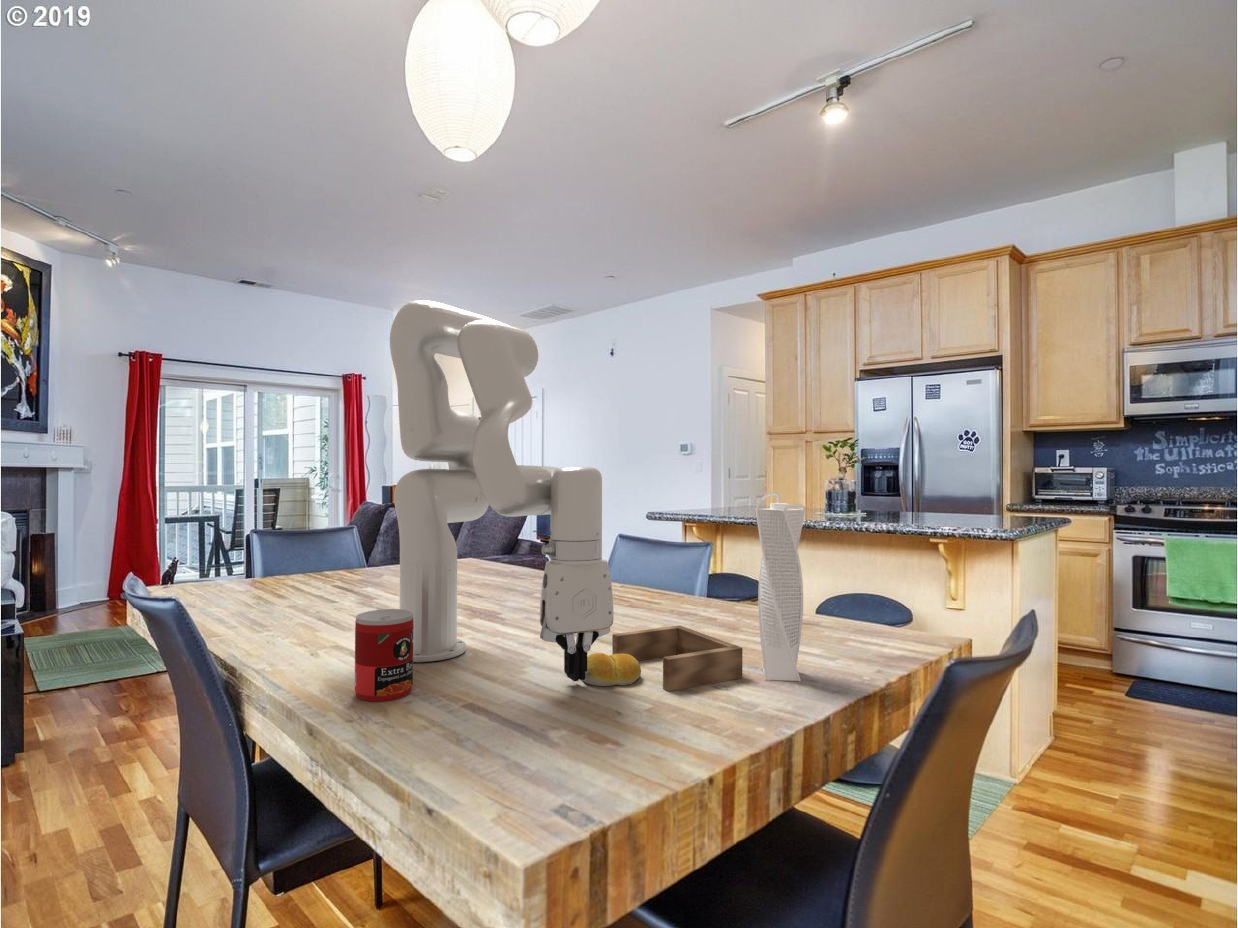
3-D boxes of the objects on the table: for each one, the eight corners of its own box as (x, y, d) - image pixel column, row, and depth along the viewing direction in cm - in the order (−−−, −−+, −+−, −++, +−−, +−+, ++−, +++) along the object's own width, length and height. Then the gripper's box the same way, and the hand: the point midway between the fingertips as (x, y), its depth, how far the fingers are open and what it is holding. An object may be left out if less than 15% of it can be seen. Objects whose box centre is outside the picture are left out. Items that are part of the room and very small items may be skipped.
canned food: (379, 706, 85) (380, 623, 86) (342, 695, 90) (342, 615, 90) (425, 690, 92) (425, 612, 92) (388, 680, 96) (388, 606, 96)
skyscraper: (753, 666, 104) (752, 492, 105) (800, 667, 103) (799, 492, 104) (758, 681, 96) (758, 493, 97) (810, 683, 95) (809, 493, 96)
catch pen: (668, 691, 92) (668, 659, 92) (612, 661, 106) (612, 634, 107) (742, 677, 98) (742, 647, 98) (680, 651, 113) (680, 625, 113)
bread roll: (646, 685, 95) (647, 658, 95) (586, 689, 93) (586, 661, 93) (632, 669, 103) (632, 643, 103) (577, 672, 101) (577, 646, 101)
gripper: (537, 557, 88) (536, 693, 87) (633, 551, 95) (633, 677, 94) (518, 551, 94) (517, 678, 94) (609, 546, 101) (609, 664, 101)
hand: (575, 677), depth 94 cm, fingers closed
